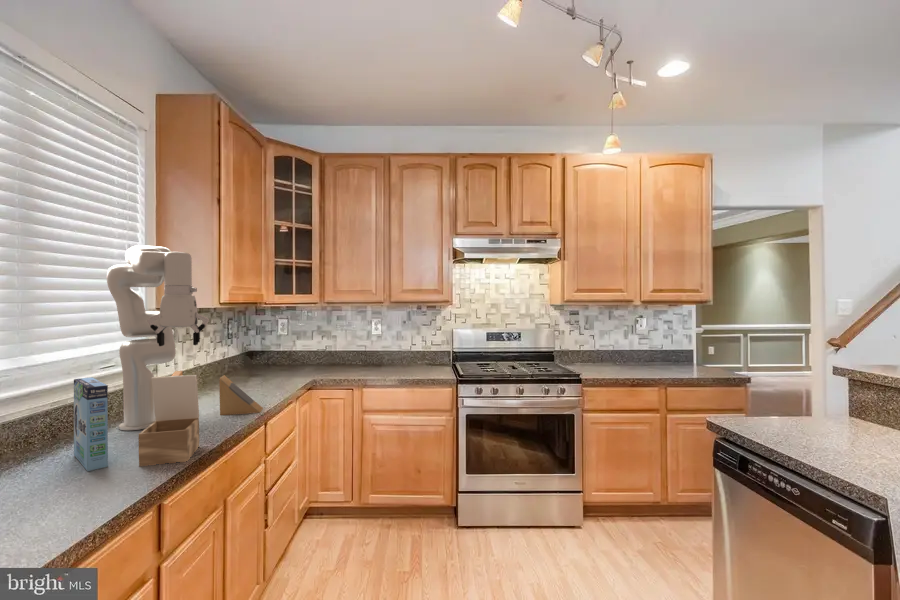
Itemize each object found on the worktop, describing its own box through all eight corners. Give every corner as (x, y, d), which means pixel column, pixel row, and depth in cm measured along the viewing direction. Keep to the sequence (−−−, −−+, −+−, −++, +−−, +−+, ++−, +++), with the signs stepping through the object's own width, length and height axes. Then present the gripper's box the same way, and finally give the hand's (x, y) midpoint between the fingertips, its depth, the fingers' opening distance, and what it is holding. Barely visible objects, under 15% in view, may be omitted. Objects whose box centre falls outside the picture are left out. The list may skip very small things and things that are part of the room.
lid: (155, 421, 143) (160, 414, 148) (198, 417, 146) (202, 411, 151) (151, 377, 140) (157, 371, 145) (195, 375, 144) (199, 369, 148)
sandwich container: (260, 413, 189) (260, 376, 189) (219, 415, 185) (219, 378, 185) (263, 408, 197) (263, 372, 197) (224, 410, 194) (223, 374, 194)
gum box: (73, 456, 139) (72, 379, 139) (95, 451, 143) (93, 376, 143) (86, 472, 126) (85, 387, 126) (109, 467, 130) (108, 384, 129)
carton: (155, 450, 143) (155, 421, 143) (199, 446, 146) (198, 417, 146) (139, 466, 130) (138, 434, 130) (187, 461, 133) (186, 430, 133)
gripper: (211, 291, 154) (211, 343, 154) (151, 291, 149) (151, 344, 149) (205, 291, 147) (206, 345, 147) (142, 291, 142) (143, 347, 142)
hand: (178, 345), depth 148 cm, fingers open, 9 cm apart
